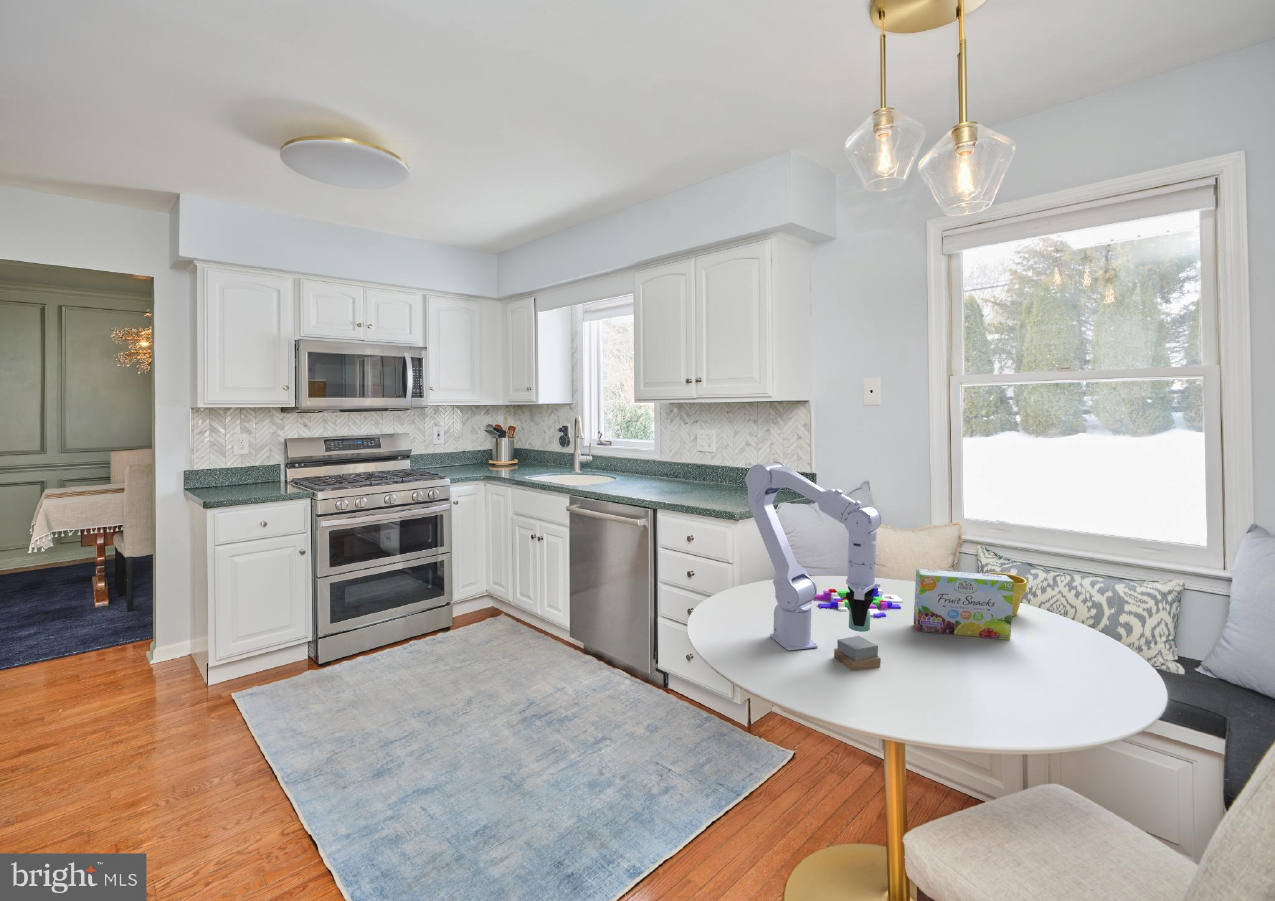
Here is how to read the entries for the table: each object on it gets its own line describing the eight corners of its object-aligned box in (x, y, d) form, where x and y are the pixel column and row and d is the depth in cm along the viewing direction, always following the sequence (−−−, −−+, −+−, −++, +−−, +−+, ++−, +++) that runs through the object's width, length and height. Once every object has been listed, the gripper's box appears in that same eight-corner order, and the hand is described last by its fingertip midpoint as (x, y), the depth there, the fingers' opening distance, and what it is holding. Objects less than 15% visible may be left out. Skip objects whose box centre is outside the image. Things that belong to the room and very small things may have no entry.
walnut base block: (834, 659, 140) (834, 648, 140) (860, 655, 142) (861, 645, 141) (852, 672, 133) (852, 661, 133) (880, 668, 135) (880, 657, 135)
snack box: (917, 632, 155) (920, 573, 153) (913, 624, 160) (915, 567, 159) (1011, 640, 150) (1015, 580, 148) (1003, 632, 155) (1007, 573, 154)
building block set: (828, 619, 165) (828, 603, 165) (808, 594, 185) (808, 580, 185) (921, 619, 165) (922, 603, 164) (891, 595, 185) (892, 580, 185)
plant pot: (1018, 622, 162) (1020, 585, 161) (975, 611, 169) (977, 577, 168) (1030, 612, 169) (1032, 577, 168) (988, 603, 176) (990, 570, 175)
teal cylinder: (844, 625, 138) (845, 607, 138) (861, 623, 139) (862, 606, 139) (856, 632, 134) (857, 614, 133) (873, 630, 135) (874, 612, 134)
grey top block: (837, 650, 139) (837, 639, 139) (858, 646, 141) (858, 635, 141) (855, 660, 133) (856, 649, 133) (877, 656, 135) (878, 645, 135)
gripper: (880, 572, 127) (878, 636, 128) (881, 555, 140) (879, 613, 141) (844, 568, 129) (842, 631, 131) (849, 552, 143) (846, 609, 144)
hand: (859, 621), depth 136 cm, fingers closed on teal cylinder, 4 cm apart
